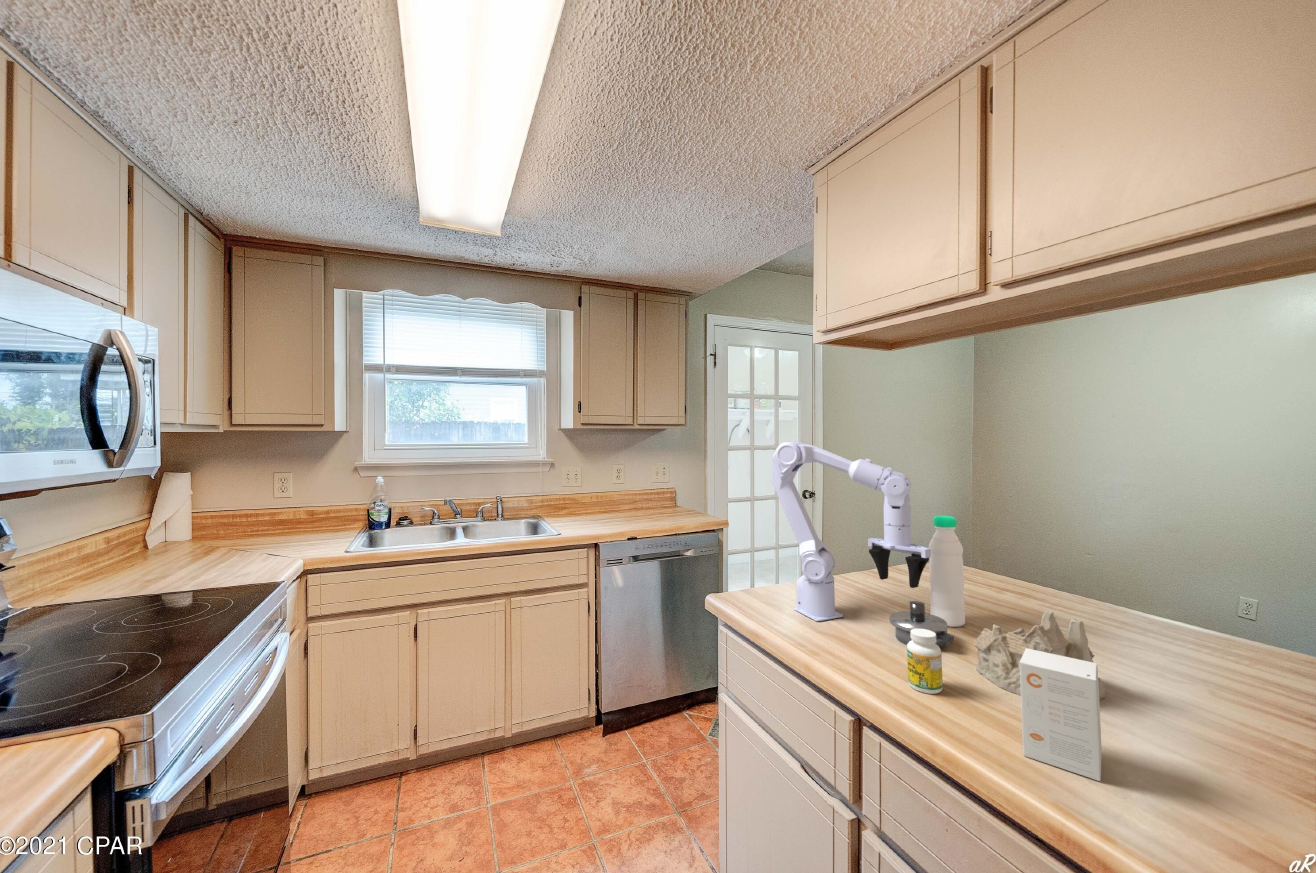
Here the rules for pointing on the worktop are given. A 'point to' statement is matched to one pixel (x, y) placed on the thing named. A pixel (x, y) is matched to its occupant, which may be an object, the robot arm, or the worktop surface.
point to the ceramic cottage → (1007, 649)
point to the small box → (1061, 712)
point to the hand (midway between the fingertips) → (898, 582)
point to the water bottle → (947, 572)
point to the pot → (940, 638)
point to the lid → (918, 619)
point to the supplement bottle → (924, 662)
